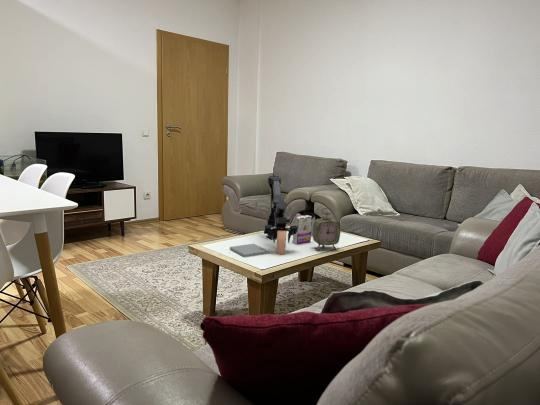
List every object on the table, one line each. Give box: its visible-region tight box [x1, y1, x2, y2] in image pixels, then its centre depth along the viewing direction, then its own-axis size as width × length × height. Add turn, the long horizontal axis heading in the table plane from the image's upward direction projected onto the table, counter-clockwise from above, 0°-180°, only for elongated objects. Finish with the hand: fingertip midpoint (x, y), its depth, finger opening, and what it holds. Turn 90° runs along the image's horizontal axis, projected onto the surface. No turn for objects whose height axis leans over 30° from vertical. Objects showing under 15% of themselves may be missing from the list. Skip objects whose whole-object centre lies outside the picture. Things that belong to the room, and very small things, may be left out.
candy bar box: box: [292, 215, 312, 245], centre depth 266 cm, size 11×5×16 cm, turn 126°
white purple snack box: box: [294, 211, 316, 238], centre depth 286 cm, size 9×14×15 cm, turn 71°
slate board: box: [229, 243, 270, 258], centre depth 244 cm, size 16×16×2 cm
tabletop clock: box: [312, 207, 341, 251], centre depth 254 cm, size 14×9×25 cm, turn 106°
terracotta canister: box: [275, 230, 287, 256], centre depth 242 cm, size 5×5×13 cm
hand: (281, 242), depth 241 cm, fingers open, 8 cm apart
